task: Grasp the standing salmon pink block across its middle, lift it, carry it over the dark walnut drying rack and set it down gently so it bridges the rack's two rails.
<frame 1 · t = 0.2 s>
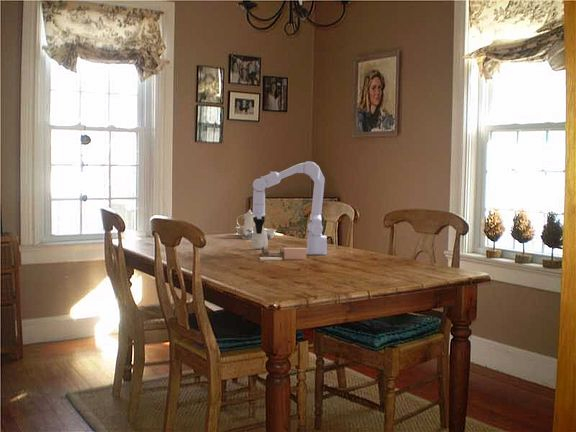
hand: (258, 232, 327), 10 cm above the table, fingers open, 7 cm apart
rack: (274, 255, 322), on the table
fired strip: (271, 260, 312), on the table
stone tool: (259, 249, 342), on the table
salmon pink block: (295, 259, 315), on the table
chinaware: (252, 238, 387), on the table
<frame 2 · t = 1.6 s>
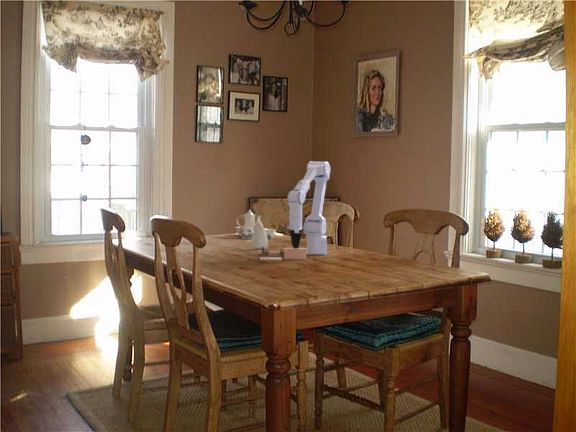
hand: (295, 247, 314), 5 cm above the table, fingers open, 7 cm apart
nothing on the table moved.
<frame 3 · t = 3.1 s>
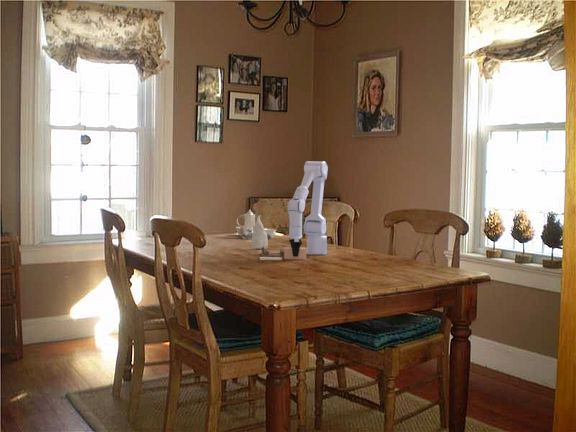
hand: (295, 255, 314), 1 cm above the table, fingers closed on salmon pink block, 4 cm apart
salmon pink block: (295, 258, 314), on the table, touching gripper
everything else where it was.
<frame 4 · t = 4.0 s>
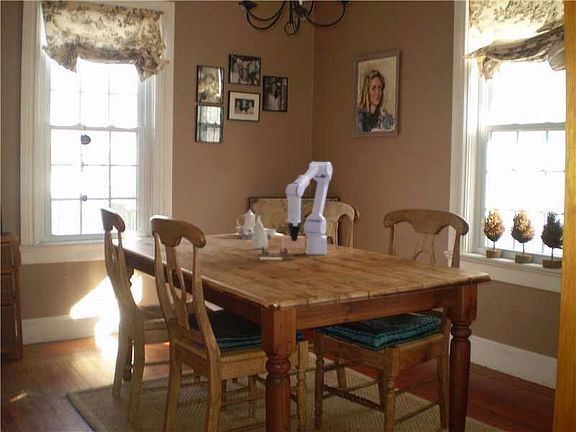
hand: (293, 240, 314), 8 cm above the table, fingers closed on salmon pink block, 3 cm apart
salmon pink block: (293, 247, 315), point 5 cm above the table, touching gripper
everything else where it was.
when the fingers open (8 cm above the table, at t = 4.4 s): salmon pink block drops 1 cm, resting on rack.
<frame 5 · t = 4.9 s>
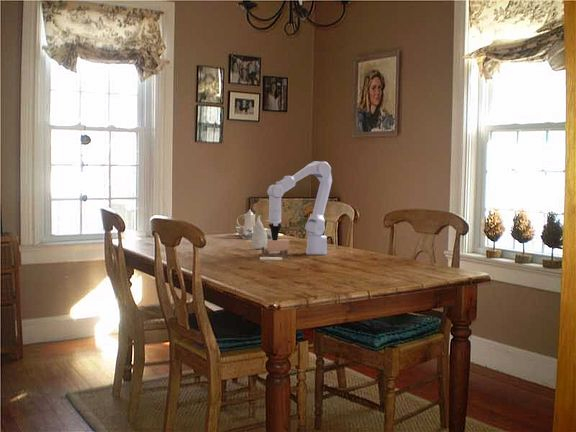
hand: (274, 239, 322), 8 cm above the table, fingers open, 3 cm apart
salmon pink block: (278, 250, 321), point 3 cm above the table, touching gripper, rack
everything else where it was.
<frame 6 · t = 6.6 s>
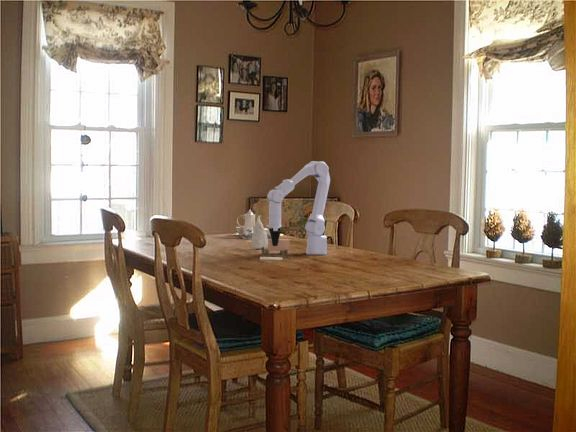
hand: (274, 244, 322), 5 cm above the table, fingers open, 7 cm apart
salmon pink block: (278, 250, 322), point 3 cm above the table, touching rack
everything else where it was.
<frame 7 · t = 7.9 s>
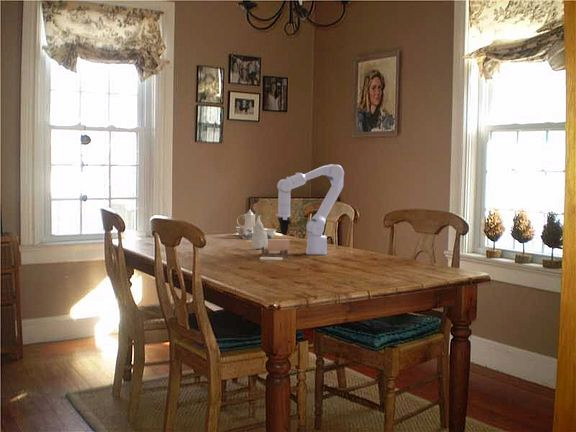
hand: (283, 233, 326), 10 cm above the table, fingers open, 7 cm apart
nothing on the table moved.
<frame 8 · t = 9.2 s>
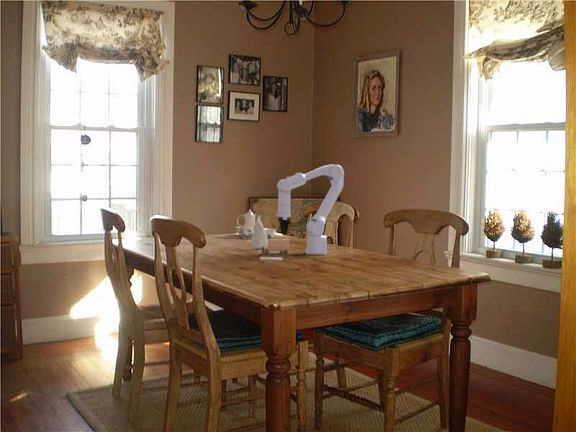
hand: (283, 233, 326), 10 cm above the table, fingers open, 7 cm apart
nothing on the table moved.
at the end: salmon pink block 1.9 cm off-centre on the rack, point 2.6 cm above the rack's base; salmon pink block tilted 0°; the gripper is holding nothing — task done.
